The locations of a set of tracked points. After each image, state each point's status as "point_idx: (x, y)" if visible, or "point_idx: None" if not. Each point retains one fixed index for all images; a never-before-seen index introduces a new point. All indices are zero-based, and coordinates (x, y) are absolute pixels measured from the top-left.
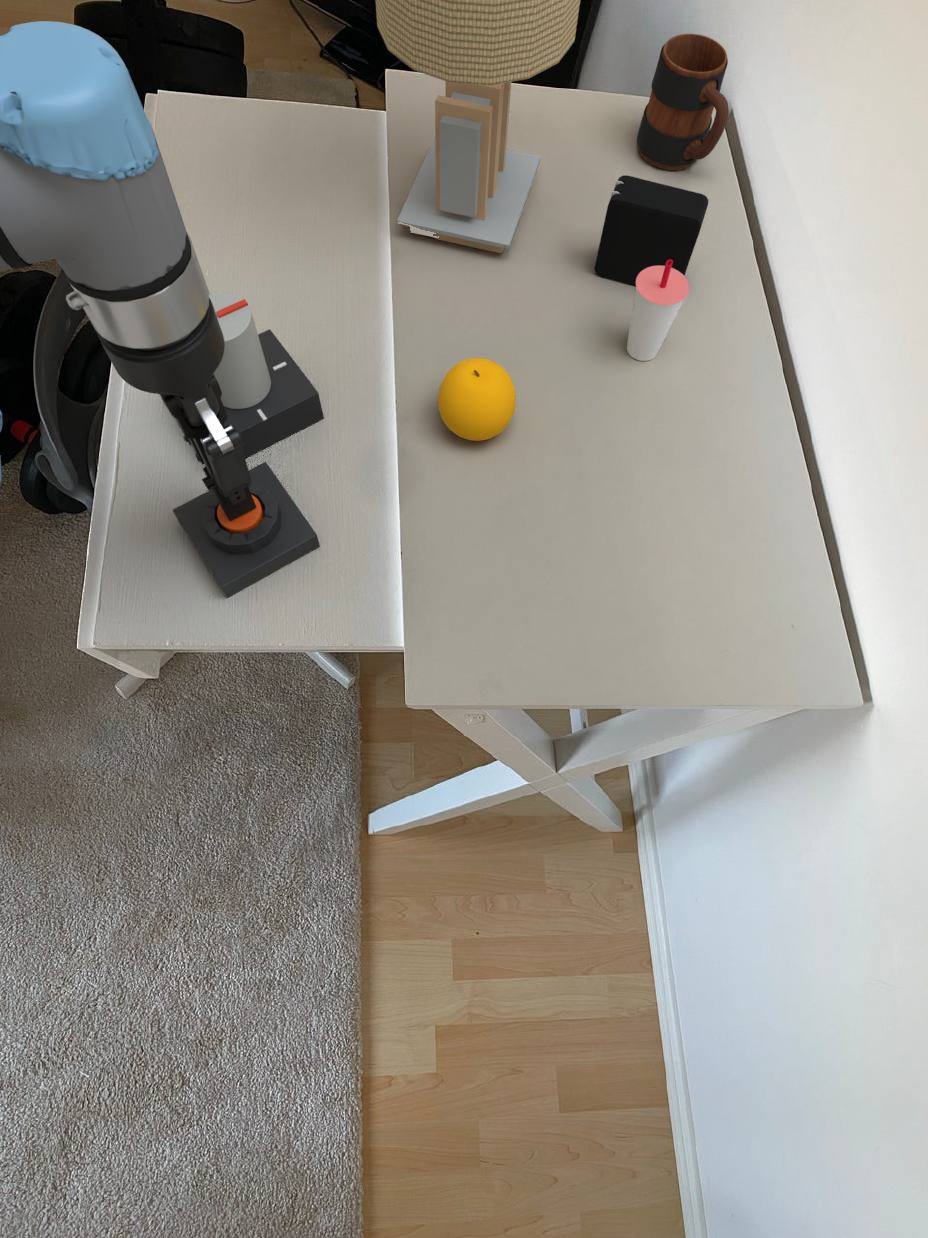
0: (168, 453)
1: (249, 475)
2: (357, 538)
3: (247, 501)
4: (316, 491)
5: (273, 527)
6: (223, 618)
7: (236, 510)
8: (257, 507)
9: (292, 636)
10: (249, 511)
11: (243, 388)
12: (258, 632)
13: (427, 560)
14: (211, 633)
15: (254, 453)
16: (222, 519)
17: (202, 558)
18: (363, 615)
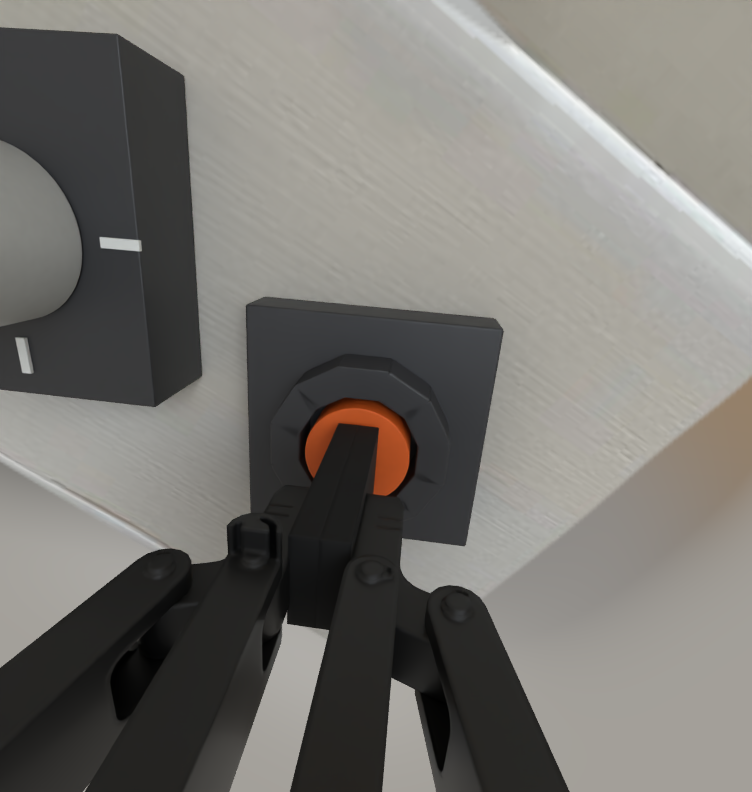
0: (113, 428)
1: (517, 677)
2: (540, 234)
3: (373, 460)
4: (366, 235)
5: (439, 415)
6: (490, 542)
7: (372, 484)
8: (376, 421)
9: (617, 478)
10: None
11: (17, 262)
12: (560, 516)
13: (733, 118)
14: (499, 569)
15: (196, 293)
16: None
17: None
18: (703, 347)
